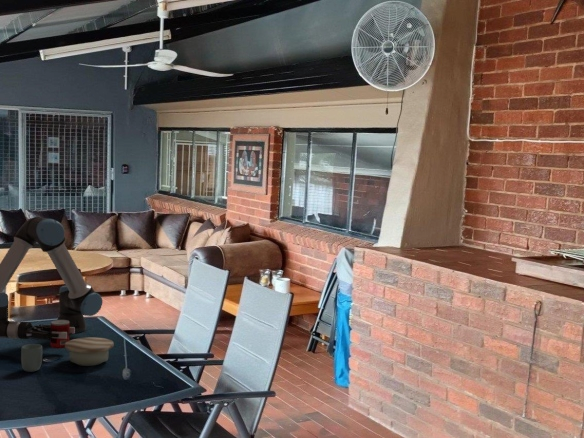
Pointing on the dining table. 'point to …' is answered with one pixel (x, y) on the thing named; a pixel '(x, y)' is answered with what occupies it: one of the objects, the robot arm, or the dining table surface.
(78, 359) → the bowl
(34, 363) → the cup
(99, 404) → the dining table surface
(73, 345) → the bowl cover
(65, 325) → the canned food
